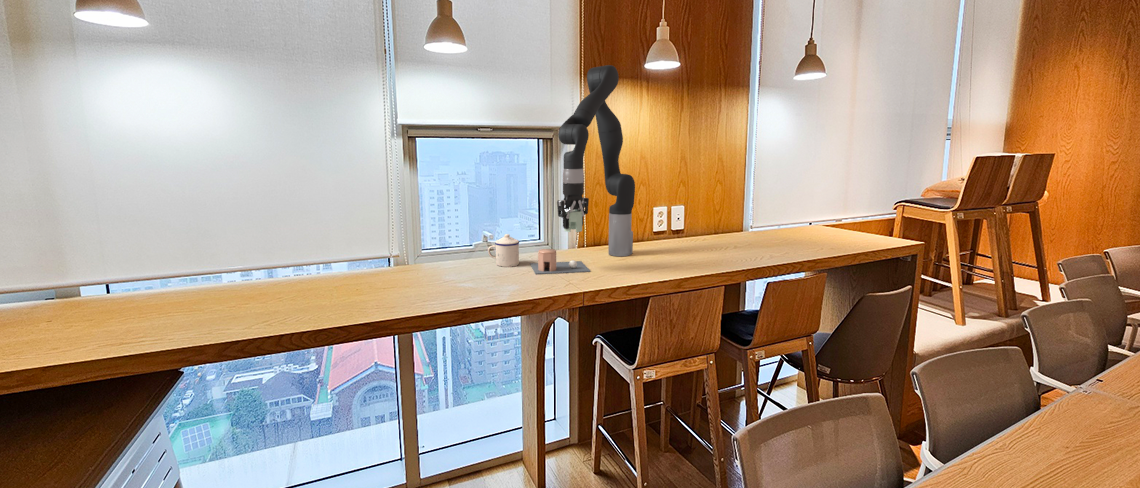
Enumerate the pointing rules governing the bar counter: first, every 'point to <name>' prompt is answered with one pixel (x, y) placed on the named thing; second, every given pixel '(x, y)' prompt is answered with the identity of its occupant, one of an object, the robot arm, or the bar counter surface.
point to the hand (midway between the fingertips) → (573, 227)
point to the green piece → (575, 221)
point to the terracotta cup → (547, 259)
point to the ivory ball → (572, 264)
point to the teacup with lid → (506, 251)
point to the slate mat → (561, 268)
